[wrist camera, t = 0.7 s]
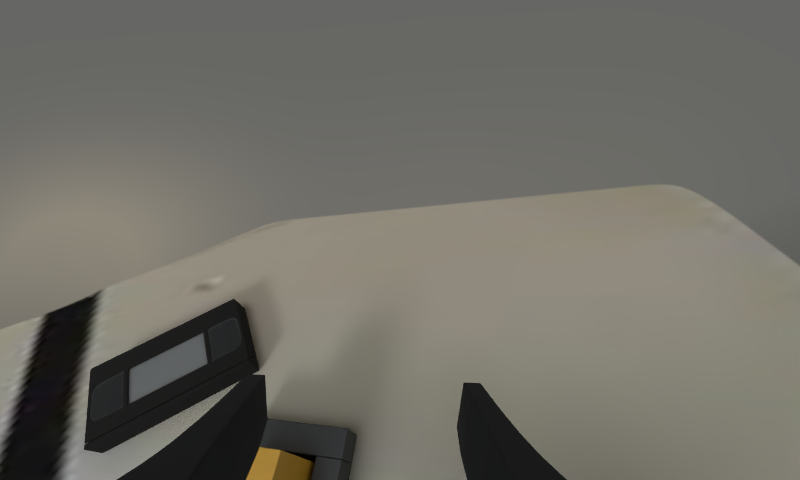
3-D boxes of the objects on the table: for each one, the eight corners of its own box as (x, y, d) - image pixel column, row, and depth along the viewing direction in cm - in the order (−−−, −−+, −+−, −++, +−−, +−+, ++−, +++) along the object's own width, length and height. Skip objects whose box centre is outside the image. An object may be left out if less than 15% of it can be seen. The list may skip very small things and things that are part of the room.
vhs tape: (107, 375, 36) (90, 369, 35) (244, 307, 38) (234, 298, 37) (103, 453, 32) (84, 449, 30) (259, 370, 34) (249, 363, 32)
